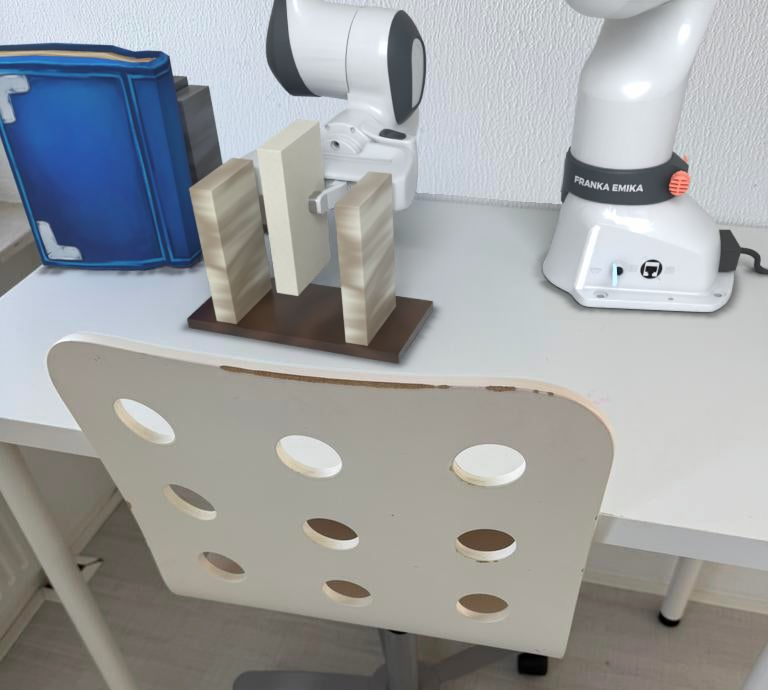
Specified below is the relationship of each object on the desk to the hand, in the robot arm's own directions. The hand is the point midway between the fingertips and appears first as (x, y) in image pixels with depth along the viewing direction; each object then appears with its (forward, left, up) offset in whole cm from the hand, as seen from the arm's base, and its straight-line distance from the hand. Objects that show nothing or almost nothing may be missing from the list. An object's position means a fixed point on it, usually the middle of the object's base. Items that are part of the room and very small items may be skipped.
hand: (297, 204), depth 81 cm
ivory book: (0, 0, -8) cm, 8 cm away
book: (+30, -7, -13) cm, 33 cm away
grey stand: (+24, -25, -13) cm, 37 cm away
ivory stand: (0, 0, -13) cm, 13 cm away
